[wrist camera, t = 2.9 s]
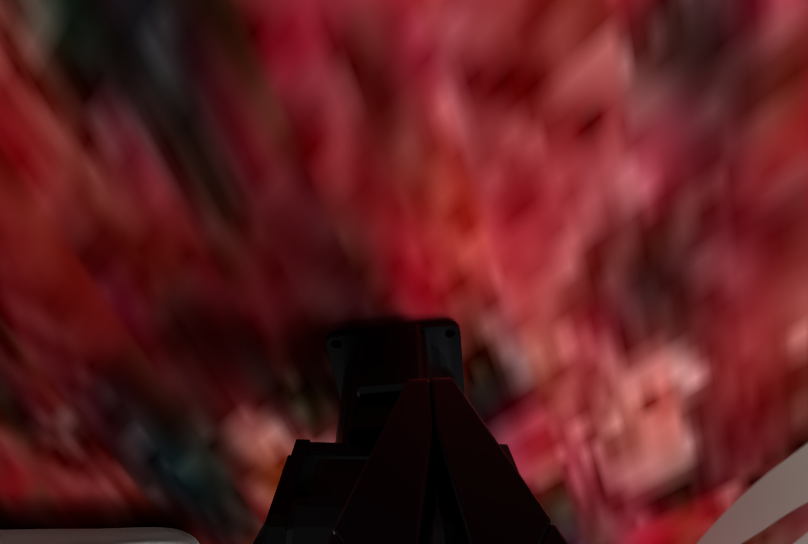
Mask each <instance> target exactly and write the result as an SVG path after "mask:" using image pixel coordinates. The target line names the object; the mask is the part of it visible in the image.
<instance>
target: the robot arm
mask: <svg viewBox="0 0 808 544" xmlns="http://www.w3.org/2000/svg"><path fill="white" fill-rule="evenodd" d="M449 329H450V330H453V331H452V332H450V333H449V332H446V331H447V330H449ZM335 340H338V341H340V343H335V342H333V341H335ZM326 346H327V350H328V354H329V358H330V362H331V366H332V370H333V374H334V378H335V382H336V385H337V389H338V393H339V397H340V401H341V402H340V410H339V418H338V426H337V434H336V442H335V443H325V442H310V440H301V439H297V440H296V442H295V445H294V448H293V451H292V454H291V455H288V457H287V460H286V463H285V466H284V469H283V471H282V475H281V478H280V481H279V483H278V486H277V489H276V492H275V495H274V498H273V501H272V504H271V507H270V510H269V513H268V516H267V519H266V521H265V523H264V525H263V527H262V528H261V530H260V532H259V534H258V535H257V537H256V539H255V541H254V543H253V544H568V543H567V541H566V540H565V538H564V537H563V536H562V534H561V533H560V531H559V530H558V528H557V527H556V526H555V525H554V524H552V520H551V519H550V517H549V516H548V514H547V513H546V511H545V510H544V509H543V507H542V506H541V504H540V503H539V501H538V500H537V498H536V497H535V496H534V494H533V493H532V491H531V490H530V488H529V487H528V486H527V484H526V483H525V481H524V480H523V478H522V477H521V475H520V474H519V472H518V469H517V467H516V465H515V462H514V460H513V457H512V455H511V453H510V450H509V448H508V445H504V444H498V442H497V441H496V439H495V438H494V437H493V435H492V434H491V432H490V431H489V429H488V428H487V426H486V425H485V424H484V422H483V421H482V419H481V418H480V416H479V415H478V414H477V412H476V411H475V409H474V408H473V406H472V405H471V403H470V402H469V401H468V399H467V398H466V396H465V395H464V380H463V365H462V351H461V336H460V328H459V325H458V324H457V323H456V322H455V321H451V320H447V321H436V322H426V323H415V324H404V325H394V326H383V327H373V328H363V329H352V330H342V331H334V332H331V333H330V334H329V335H328V337H327V341H326Z"/></svg>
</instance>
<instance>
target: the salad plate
mask: <svg viewBox="0 0 808 544" xmlns="http://www.w3.org/2000/svg"><path fill="white" fill-rule="evenodd" d="M0 544H199V542H198V541H197V539H196V538H195V537H193V536H192V535H190V534H189V533H186V532H184V531H181V530H178V529H173V528H164V527H132V528H104V529H12V530H0Z"/></svg>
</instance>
